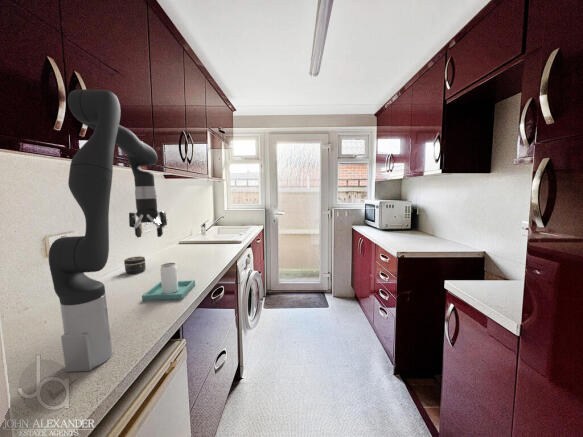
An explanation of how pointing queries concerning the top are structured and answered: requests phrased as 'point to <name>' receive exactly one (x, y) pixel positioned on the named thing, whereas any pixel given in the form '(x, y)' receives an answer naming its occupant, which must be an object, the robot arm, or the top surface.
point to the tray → (157, 294)
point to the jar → (134, 265)
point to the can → (169, 278)
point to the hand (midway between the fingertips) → (149, 236)
